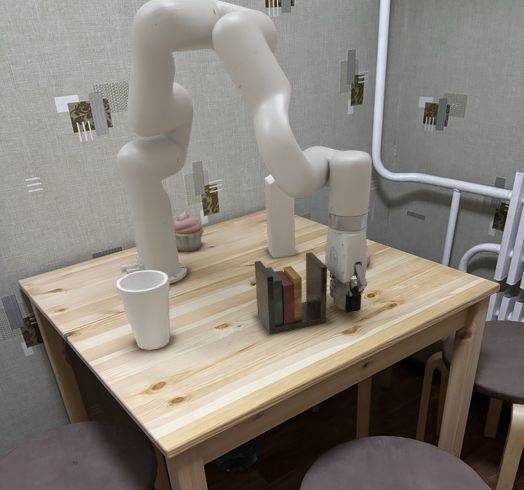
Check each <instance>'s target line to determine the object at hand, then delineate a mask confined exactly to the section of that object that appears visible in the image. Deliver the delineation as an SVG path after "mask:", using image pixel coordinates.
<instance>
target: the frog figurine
mask: <svg viewBox="0 0 524 490" xmlns="http://www.w3.org/2000/svg"><path fill="white" fill-rule="evenodd" d="M351 285H352V288H353V287H354V286H357V282H352V283H351ZM330 292H331V296H330V297H331V298H332V299H333V303H334V304H335V306H336V308H338V309H340V310H343V311H345V303H346V294H348V291H347V285H346V283H342V282H341V281H339V280H338V279H337V278H334V279H333V280H332V281H331V284H330V283H329V293H330Z"/></svg>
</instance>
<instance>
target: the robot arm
mask: <svg viewBox="0 0 524 490" xmlns="http://www.w3.org/2000/svg"><path fill="white" fill-rule="evenodd" d="M130 34H131V35H130V40H131V41H130V43H131V58H130V59H131V60H130V69H129V81H128V92H127V105H126V119H127V124H128V126H129V128H130V130H131V131H132V132H133V133H134V134H136V135H137V136H140V137H141V138H138V139H135V140H132V141H129V142H127V143H125V144H124V145H123V146H122V147H121V148H120V149H119V151H118V153H117V154H116V158H115V166H116V170H117V174H118V177H119V179H120V182H121V184H122V187H123V190H124V193H125V196H126V201H127V206H128V211H129V217H130V221H131V227H132V232H133V238H134V242H135V248H136V253H137V256H136V260H135V261H132V263H123V264H120V265H119V266H120V271H121V273H122V274H123V273H126V275H127V274H129V273H133V272H137V271H144V270H155V271H161V272H163V273H165V274H167V276H168V279H169V285H170V284H171V285H172V284H174V283H177V282H179V281H181V280H182V279H184V278H185V277H186V276H187V274H188V270H187V266H186V265H184V264H183V263H181V262H180V260H179V251H178V248H177V244H176V237H175V230H174V217H173V216H174V215H173V210H172V203H171V199H170V197H169V194H168V192H167V191H166V189H165V187H164V185H163V182H162V181H163V180H165V179H167V178H169V177H171V176H174V175H176V174H177V173H178V174H179V172H180V171H181V170H183V168H184V166H185V164H186V161H187V156H188V151H189V145H190V140H191V132H192V126H193V120H194V106H193V102H192V98H191V95H190V94H189V92H188V90H187V89H186V88H185V87H184V86H183V85H181V84H180V83H177V82H175V81H174V80H175V75H176V66H175V59H174V56H173V53H175V52H188V51H199V50H211V51H215V54H216V56H217V57H218V59H219V62H220V63H221V64H222V66H223V68H224V69H225V71H226V73H227V75H228V76H229V78H230V80H231V81H232V83H233V85H234V86H235V88H236V90H237V91H238V93H239V95H240V97H241V98H242V100H243V101H244V103H245V105H246V107H247V108H248V110H249V112H250V114H251V116H252V126H253V132H254V136H255V142H256V145H257V149H258V153H259V155H260V157H261V159H262V162H263V164H264V165H265V167H266V168H267V170H268V172H269V175H270V174H271V175H272V177H273V179H274V180H275V182H276V183H277V185H278V186H279V187H280V189H281V190H282V191H283V192H284V193H285V194H287V195H288V196H290V197H292V198H294V200H303V199H306V198H309V197H311V196H313V194H315V193H317V192H318V191H319V190H322V189H324V188H326V187H328V222H327V223H328V224H327V225H328V226H327V233H326V241H325V257H324V264H325V265H326V266H327V271H328V272H329V279H330V280H329V285H330V284H331V281H332V280H333V279H334V278H337V279H338V280H339V281H341V282H342V283H346V285H347V291H348V294H346V303H345V310H344V311H345V313H346V314H350V313H356V312H360V311H361V309H362V295H363V294H364V291H365V289H366V287H367V286H368V281H367V278H366V276H367V275H366V274H367V266H368V265H367V251H368V243H367V240H368V239H367V230H368V228H369V218H370V217H369V216H370V215H369V214H370V200H371V199H370V198H371V185H372V183H371V182H372V170H373V169H372V167H373V165H372V164H373V161H372V157H371V155H370V154H369V152H366V151H363V150H358V149H357V150H354V149H353V150H352V149H351V150H350V149H349V150H338V149H335V148H330V147H327V146H322V145H313V146H309V147H308V148H306V149H304V150H302V148H301V147H300V145H299V143H298V141H297V140H296V138H295V135H294V133H293V131H292V127H291V125H290V120H289V109H290V102H291V98H292V92H293V91H292V85H291V83H290V81H289V79H288V78H287V76H286V75H285V73H284V70H283V69H282V67H281V66H280V64H279V62H278V60H277V58H276V56H275V55H274V54H275V51H276V50H277V47H278V40H279V39H278V36H279V35H278V31H277V28H276V25H275V23H274V22H273V20H272V19H271V18H270V17H269V15H267V14H266V13H264V12H263V11H260V10H258V9H253V8H249V7H245V6H242V5H237V4H234V3H230V2H227V1H222V0H148V1H147V2H145V3H144V4H143V5H141V6H140V8H139V9H138V10H137V11H136V13H135V15H134V17H133V19H132V24H131V32H130ZM353 277H355V278H353ZM352 282H355V283H356V284H357V286H354V287H353V288H352V285H351V283H352ZM329 296H330V297H331V292H330V291H329Z"/></svg>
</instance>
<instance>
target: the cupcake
mask: <svg viewBox="0 0 524 490" xmlns="http://www.w3.org/2000/svg"><path fill="white" fill-rule="evenodd" d="M173 223H174V230H175V237H176V244H177V250H179V251H181V252H191V251H196V250H198V249H199V248H200V247H201V244H202V237H203V234H204V232H205V230H204V227H202V225H201V222H200V221H199V220H198V219H197V217H195V216H193V215H191V214H190V213H188V212H187V211H184V212H181V213H180V214H179V215H178V217H177V219H176V220H175V221H173Z"/></svg>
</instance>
